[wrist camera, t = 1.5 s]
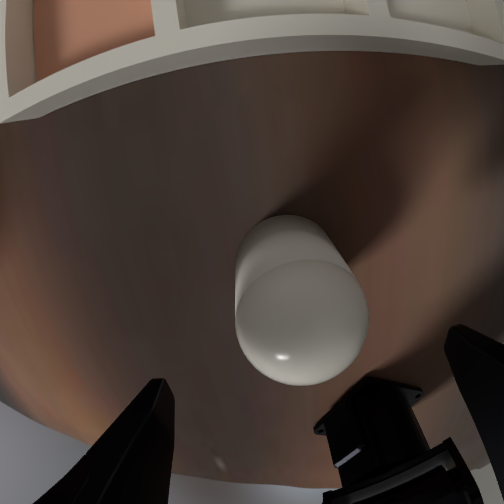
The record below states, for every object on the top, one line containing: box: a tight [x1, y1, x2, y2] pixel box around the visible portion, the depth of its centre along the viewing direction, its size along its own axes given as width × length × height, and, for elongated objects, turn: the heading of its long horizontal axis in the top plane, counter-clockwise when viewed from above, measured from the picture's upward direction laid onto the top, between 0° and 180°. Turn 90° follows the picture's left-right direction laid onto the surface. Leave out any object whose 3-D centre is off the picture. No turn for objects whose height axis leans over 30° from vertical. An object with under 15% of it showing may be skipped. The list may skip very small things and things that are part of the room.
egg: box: [235, 215, 369, 386], centre depth 11 cm, size 5×5×7 cm
